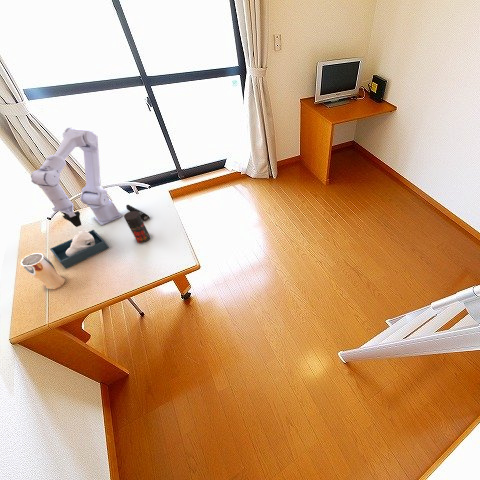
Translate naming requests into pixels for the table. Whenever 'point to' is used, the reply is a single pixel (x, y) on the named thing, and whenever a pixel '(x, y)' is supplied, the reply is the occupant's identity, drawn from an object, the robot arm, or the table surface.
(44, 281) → the beige tall cylinder
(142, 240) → the deodorant
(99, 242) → the bin
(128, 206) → the electric trimmer
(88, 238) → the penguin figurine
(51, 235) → the table surface
